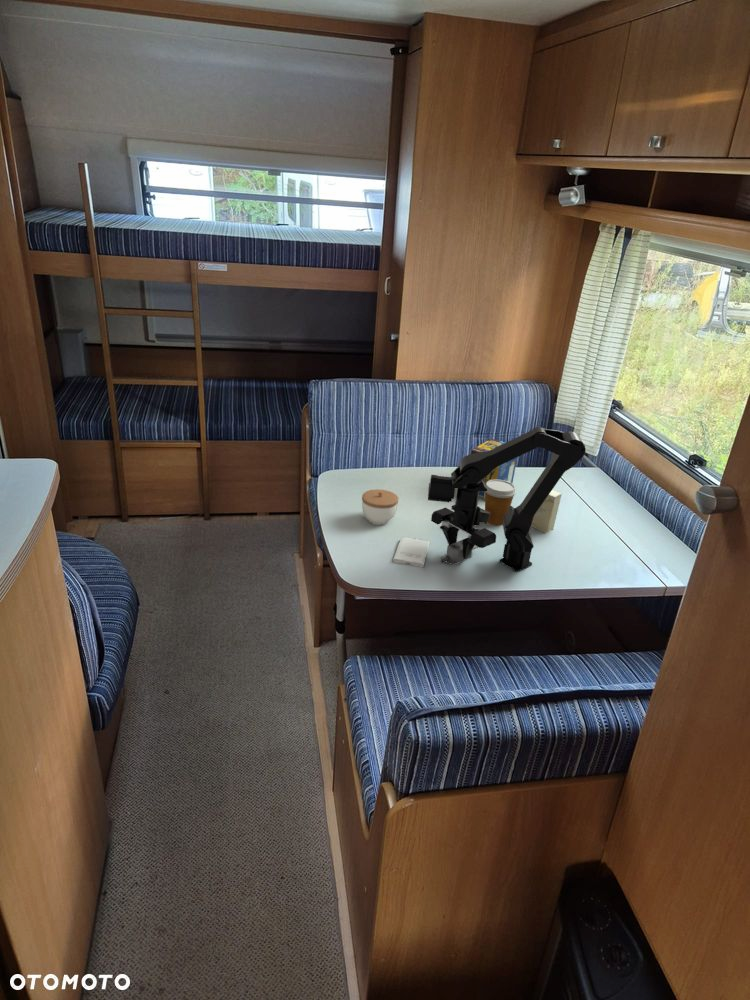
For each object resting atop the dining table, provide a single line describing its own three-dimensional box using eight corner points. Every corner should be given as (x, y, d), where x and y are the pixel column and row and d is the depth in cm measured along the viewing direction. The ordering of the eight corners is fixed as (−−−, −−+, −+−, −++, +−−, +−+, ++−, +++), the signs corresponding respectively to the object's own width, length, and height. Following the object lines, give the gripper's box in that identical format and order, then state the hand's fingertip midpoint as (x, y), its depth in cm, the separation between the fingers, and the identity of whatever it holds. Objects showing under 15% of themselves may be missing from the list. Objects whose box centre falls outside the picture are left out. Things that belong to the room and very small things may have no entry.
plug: (446, 567, 173) (448, 554, 171) (437, 562, 175) (438, 549, 173) (479, 553, 181) (481, 541, 179) (470, 548, 183) (471, 535, 181)
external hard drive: (429, 546, 184) (422, 568, 173) (400, 541, 185) (392, 563, 174) (429, 541, 183) (423, 563, 172) (401, 536, 184) (393, 558, 173)
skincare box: (529, 525, 198) (536, 489, 193) (536, 521, 201) (543, 485, 196) (547, 533, 194) (555, 496, 189) (554, 529, 197) (562, 492, 192)
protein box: (464, 493, 217) (470, 449, 210) (485, 479, 228) (491, 437, 222) (493, 502, 212) (500, 458, 205) (512, 488, 223) (520, 445, 217)
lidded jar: (364, 529, 189) (366, 500, 185) (357, 512, 198) (359, 484, 194) (400, 528, 191) (402, 499, 187) (391, 511, 201) (394, 483, 197)
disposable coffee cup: (515, 526, 197) (522, 491, 192) (487, 529, 194) (493, 493, 189) (501, 512, 205) (507, 477, 200) (474, 514, 202) (479, 479, 197)
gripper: (513, 509, 169) (504, 560, 176) (461, 483, 182) (454, 532, 189) (485, 520, 163) (477, 573, 169) (432, 492, 175) (427, 543, 182)
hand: (459, 554), depth 177 cm, fingers open, 4 cm apart
